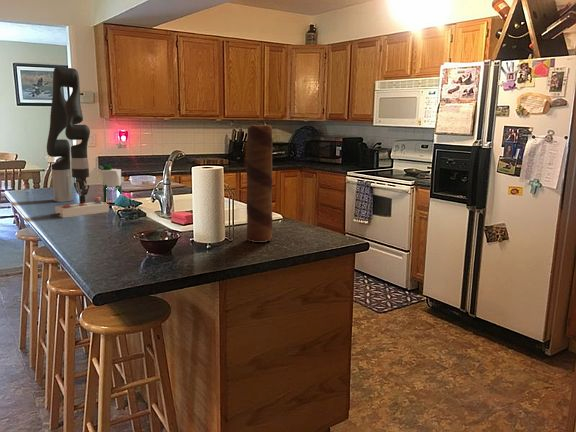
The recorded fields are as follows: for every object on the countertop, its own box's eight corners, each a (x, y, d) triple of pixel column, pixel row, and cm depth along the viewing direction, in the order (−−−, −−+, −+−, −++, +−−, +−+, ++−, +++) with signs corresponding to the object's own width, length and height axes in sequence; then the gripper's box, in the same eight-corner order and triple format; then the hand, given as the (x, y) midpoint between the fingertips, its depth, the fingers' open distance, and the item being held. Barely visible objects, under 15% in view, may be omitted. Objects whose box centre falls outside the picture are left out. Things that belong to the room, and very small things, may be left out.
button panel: (47, 215, 224) (46, 206, 223) (101, 209, 243) (100, 200, 242) (54, 219, 218) (53, 209, 217) (109, 211, 236) (108, 202, 235)
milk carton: (108, 200, 265) (106, 164, 261) (124, 201, 265) (122, 165, 261) (101, 203, 257) (99, 166, 253) (118, 204, 257) (116, 166, 252)
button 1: (62, 210, 226) (61, 204, 225) (68, 209, 228) (68, 204, 228) (64, 211, 224) (64, 205, 223) (71, 210, 226) (71, 205, 226)
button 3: (93, 202, 236) (93, 197, 236) (99, 201, 238) (99, 196, 238) (96, 203, 234) (95, 198, 234) (102, 202, 236) (101, 197, 236)
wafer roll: (248, 244, 182) (249, 124, 173) (243, 238, 192) (244, 124, 183) (275, 243, 185) (277, 125, 176) (269, 236, 195) (270, 124, 186)
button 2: (78, 208, 231) (78, 203, 231) (84, 207, 233) (84, 202, 233) (80, 209, 229) (80, 203, 229) (87, 208, 231) (86, 203, 231)
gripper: (66, 166, 229) (69, 202, 233) (77, 169, 220) (80, 206, 224) (82, 165, 234) (84, 200, 238) (93, 168, 225) (96, 204, 229)
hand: (82, 203), depth 231 cm, fingers closed
